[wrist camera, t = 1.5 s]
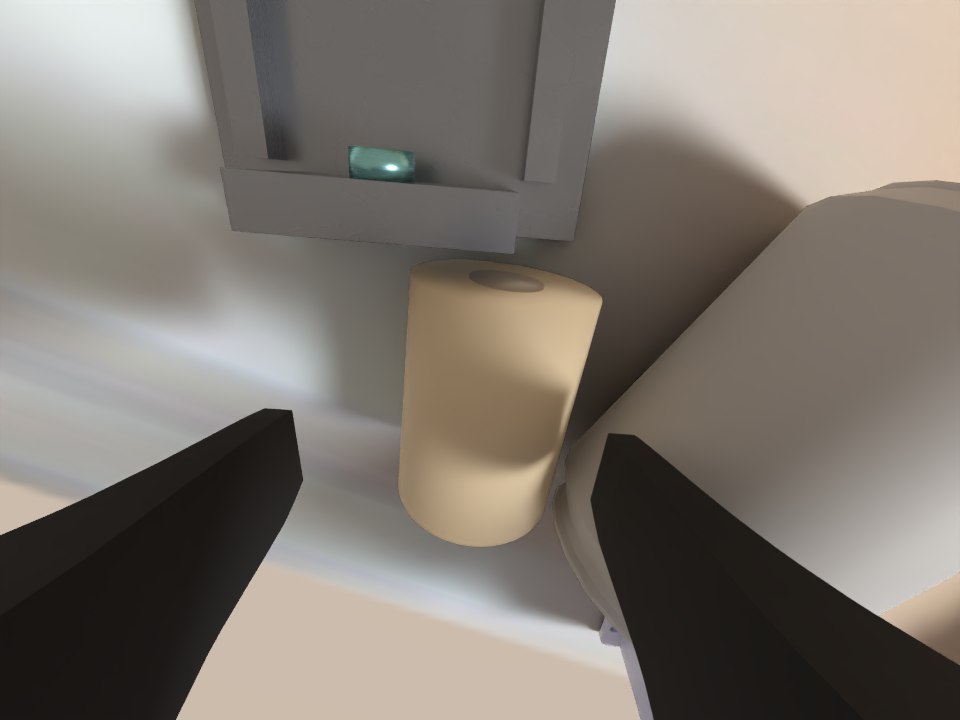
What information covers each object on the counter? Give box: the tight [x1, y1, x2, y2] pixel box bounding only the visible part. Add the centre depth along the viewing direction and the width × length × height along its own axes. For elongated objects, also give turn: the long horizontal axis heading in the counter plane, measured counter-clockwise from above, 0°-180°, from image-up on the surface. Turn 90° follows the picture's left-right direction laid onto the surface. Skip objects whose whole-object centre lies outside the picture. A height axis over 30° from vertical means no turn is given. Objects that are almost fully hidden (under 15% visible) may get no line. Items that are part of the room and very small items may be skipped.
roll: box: [398, 259, 602, 547], centre depth 12 cm, size 7×5×5 cm
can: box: [552, 180, 960, 645], centre depth 11 cm, size 8×8×12 cm
